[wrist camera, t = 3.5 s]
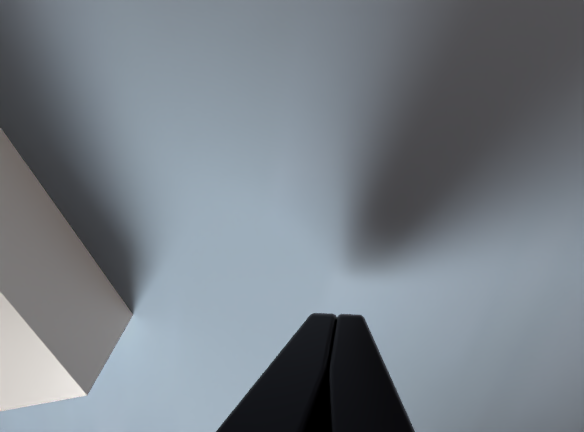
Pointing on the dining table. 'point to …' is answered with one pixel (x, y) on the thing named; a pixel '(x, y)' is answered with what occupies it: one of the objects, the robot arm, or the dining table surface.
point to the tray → (48, 297)
